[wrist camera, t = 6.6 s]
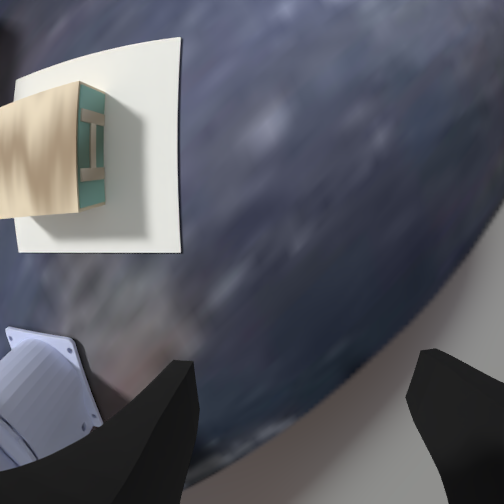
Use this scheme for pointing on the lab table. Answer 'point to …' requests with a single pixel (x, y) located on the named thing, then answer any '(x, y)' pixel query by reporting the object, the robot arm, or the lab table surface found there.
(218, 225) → the lab table surface
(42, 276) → the lab table surface
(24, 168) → the beech block
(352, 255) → the lab table surface
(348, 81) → the lab table surface
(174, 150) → the mat
